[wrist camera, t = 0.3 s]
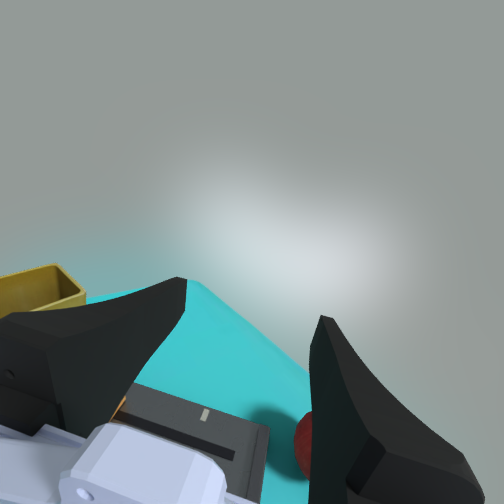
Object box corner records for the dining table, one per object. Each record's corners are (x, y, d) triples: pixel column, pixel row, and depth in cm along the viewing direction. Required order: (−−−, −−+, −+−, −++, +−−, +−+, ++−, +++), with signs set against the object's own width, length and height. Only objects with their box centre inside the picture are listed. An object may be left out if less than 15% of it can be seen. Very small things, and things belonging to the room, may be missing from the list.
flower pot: (97, 345, 33) (87, 290, 29) (9, 392, 26) (-19, 329, 22) (68, 313, 37) (57, 261, 33) (-14, 346, 30) (-41, 286, 26)
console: (218, 781, 12) (222, 783, 11) (-150, 583, 15) (-170, 573, 14) (268, 434, 26) (271, 423, 25) (74, 368, 29) (71, 357, 28)
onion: (276, 442, 26) (294, 395, 22) (322, 428, 28) (345, 382, 24) (304, 518, 21) (332, 472, 17) (356, 493, 23) (391, 448, 19)
